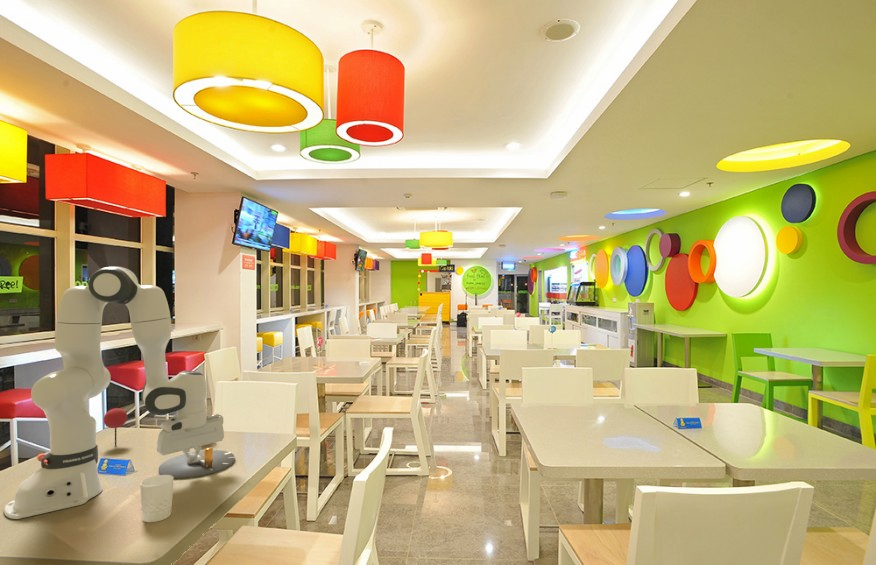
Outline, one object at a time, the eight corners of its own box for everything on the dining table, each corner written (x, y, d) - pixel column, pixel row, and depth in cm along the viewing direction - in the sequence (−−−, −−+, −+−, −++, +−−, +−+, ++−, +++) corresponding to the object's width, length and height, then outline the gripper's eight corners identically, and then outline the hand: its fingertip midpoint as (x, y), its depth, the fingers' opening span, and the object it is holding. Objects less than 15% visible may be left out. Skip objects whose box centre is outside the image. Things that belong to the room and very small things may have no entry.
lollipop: (131, 443, 190) (131, 406, 191) (114, 449, 183) (114, 411, 183) (116, 442, 192) (116, 405, 192) (98, 448, 185) (99, 410, 185)
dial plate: (174, 485, 149) (174, 480, 150) (148, 466, 165) (148, 462, 165) (246, 463, 168) (246, 459, 168) (217, 448, 183) (217, 445, 183)
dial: (183, 461, 166) (183, 443, 166) (203, 456, 171) (203, 438, 171) (199, 471, 157) (199, 452, 157) (220, 465, 162) (220, 446, 162)
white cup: (149, 526, 123) (149, 488, 123) (134, 519, 127) (134, 482, 128) (179, 514, 130) (179, 478, 130) (164, 507, 134) (164, 472, 134)
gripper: (219, 411, 166) (219, 450, 166) (155, 424, 151) (155, 467, 151) (227, 414, 162) (227, 454, 162) (162, 428, 147) (162, 472, 147)
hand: (192, 460), depth 156 cm, fingers closed
